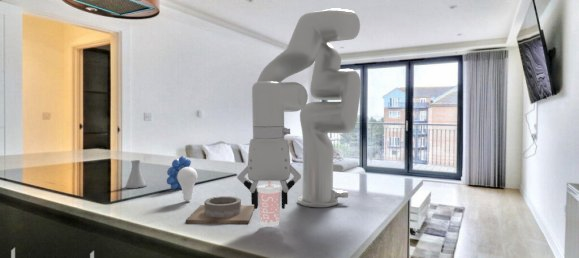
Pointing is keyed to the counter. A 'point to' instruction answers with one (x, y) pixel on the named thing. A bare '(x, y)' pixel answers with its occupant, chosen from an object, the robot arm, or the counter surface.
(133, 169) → the flask
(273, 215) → the beverage cup
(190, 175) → the lightbulb
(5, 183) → the counter surface
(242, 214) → the coaster board
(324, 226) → the counter surface
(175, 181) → the grapes
